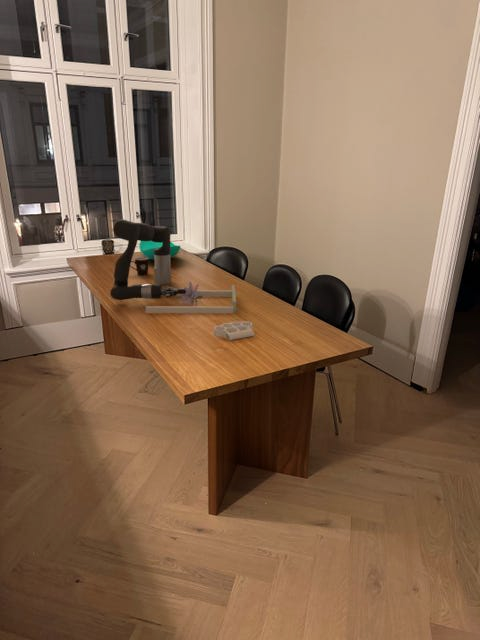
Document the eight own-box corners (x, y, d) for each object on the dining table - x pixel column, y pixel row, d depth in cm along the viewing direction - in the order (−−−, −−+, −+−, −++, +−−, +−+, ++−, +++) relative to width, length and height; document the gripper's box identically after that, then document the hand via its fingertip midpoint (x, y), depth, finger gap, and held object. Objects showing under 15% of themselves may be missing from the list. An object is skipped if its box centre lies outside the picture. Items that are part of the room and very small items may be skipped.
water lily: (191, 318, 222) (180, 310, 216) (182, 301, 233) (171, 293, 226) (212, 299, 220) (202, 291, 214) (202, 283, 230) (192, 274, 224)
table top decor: (133, 256, 323) (132, 238, 318) (169, 252, 335) (168, 235, 331) (150, 268, 291) (149, 248, 286) (188, 264, 303) (188, 245, 298)
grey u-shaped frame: (146, 313, 209) (145, 301, 207) (154, 295, 235) (153, 284, 233) (236, 313, 211) (236, 301, 209) (234, 295, 237) (234, 285, 235)
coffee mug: (151, 272, 280) (150, 257, 276) (147, 276, 272) (146, 260, 268) (133, 271, 281) (132, 256, 277) (129, 275, 273) (128, 259, 269)
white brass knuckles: (222, 343, 178) (209, 331, 190) (261, 336, 186) (245, 325, 198) (222, 336, 177) (209, 324, 189) (261, 329, 184) (245, 318, 197)
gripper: (148, 287, 212) (184, 288, 213) (153, 280, 224) (186, 280, 225) (149, 302, 215) (184, 302, 215) (153, 294, 227) (187, 294, 228)
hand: (185, 291), depth 220 cm, fingers closed
